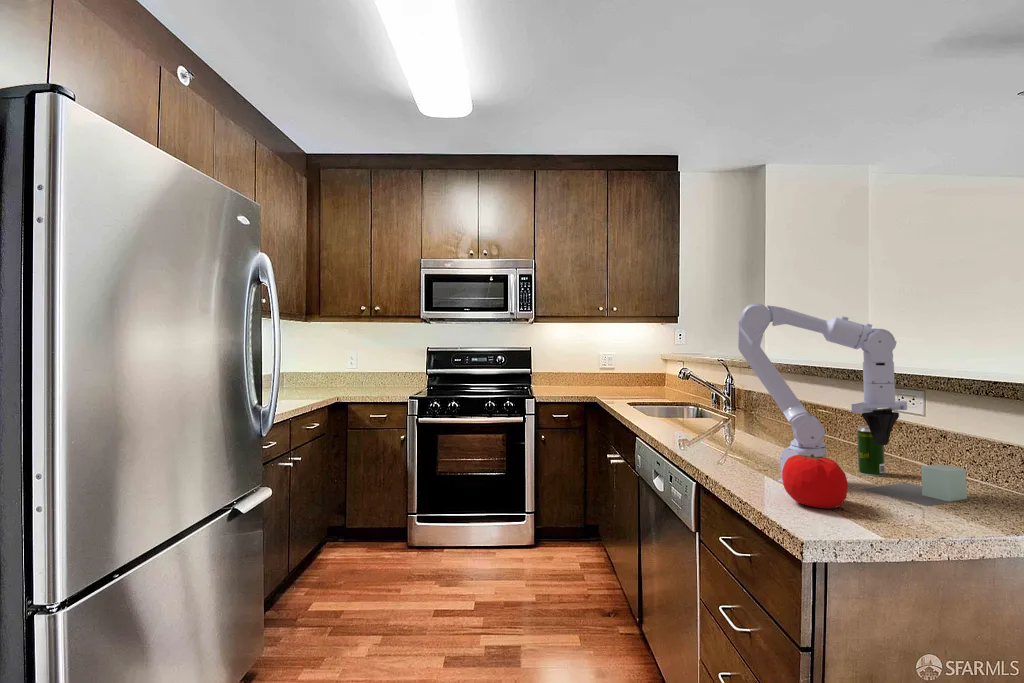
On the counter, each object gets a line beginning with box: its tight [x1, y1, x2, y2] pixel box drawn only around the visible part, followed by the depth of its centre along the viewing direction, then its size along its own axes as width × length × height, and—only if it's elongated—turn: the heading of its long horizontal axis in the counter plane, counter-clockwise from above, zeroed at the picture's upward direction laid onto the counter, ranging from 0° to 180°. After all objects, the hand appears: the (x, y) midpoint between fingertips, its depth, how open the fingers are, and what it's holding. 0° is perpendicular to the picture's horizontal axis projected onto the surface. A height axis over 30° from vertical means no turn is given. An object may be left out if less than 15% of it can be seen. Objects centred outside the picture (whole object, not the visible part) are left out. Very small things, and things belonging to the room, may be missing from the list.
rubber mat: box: [860, 482, 975, 507], centre depth 113 cm, size 14×14×1 cm
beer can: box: [856, 424, 886, 477], centre depth 131 cm, size 5×5×12 cm
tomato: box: [782, 454, 849, 510], centre depth 108 cm, size 11×13×10 cm
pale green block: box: [920, 463, 968, 503], centre depth 110 cm, size 5×5×6 cm
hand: (881, 444), depth 118 cm, fingers closed
